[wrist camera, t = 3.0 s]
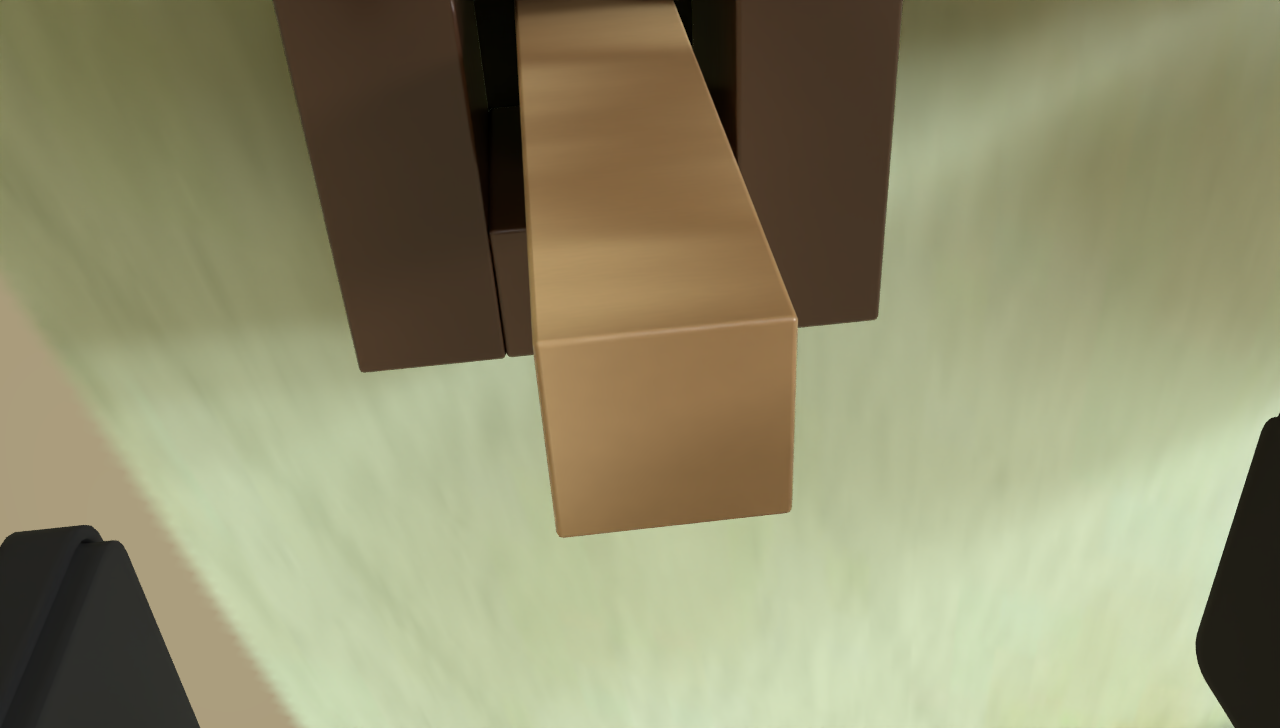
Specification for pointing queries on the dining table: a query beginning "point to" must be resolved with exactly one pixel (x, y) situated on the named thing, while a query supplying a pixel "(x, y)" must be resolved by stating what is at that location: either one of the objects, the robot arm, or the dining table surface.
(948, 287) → the dining table surface
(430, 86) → the utensil stand
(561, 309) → the light brown wooden bar
